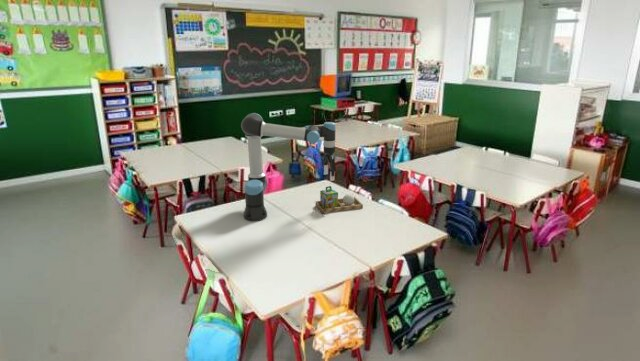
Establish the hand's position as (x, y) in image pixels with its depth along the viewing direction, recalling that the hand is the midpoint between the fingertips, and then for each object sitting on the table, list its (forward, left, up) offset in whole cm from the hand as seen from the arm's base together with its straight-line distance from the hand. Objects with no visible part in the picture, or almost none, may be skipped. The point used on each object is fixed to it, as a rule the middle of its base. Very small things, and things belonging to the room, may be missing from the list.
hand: (329, 177), depth 271 cm
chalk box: (0, 0, -22) cm, 22 cm away
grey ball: (+14, 0, -22) cm, 26 cm away
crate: (+7, 0, -23) cm, 24 cm away
